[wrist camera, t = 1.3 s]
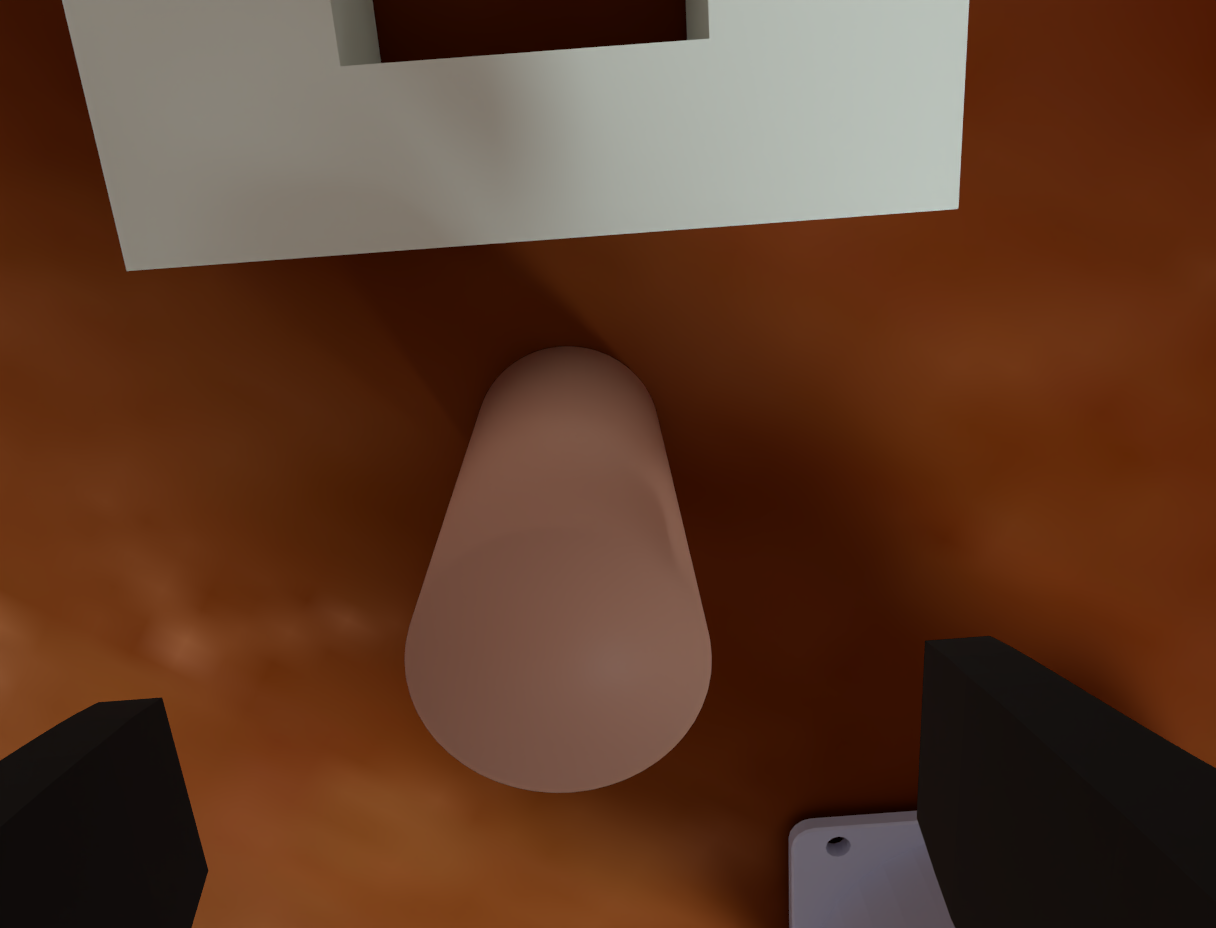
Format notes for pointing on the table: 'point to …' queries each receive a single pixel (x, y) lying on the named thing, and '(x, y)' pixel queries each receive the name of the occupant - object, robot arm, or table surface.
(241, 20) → the socket block
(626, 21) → the table surface
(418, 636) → the dowel
